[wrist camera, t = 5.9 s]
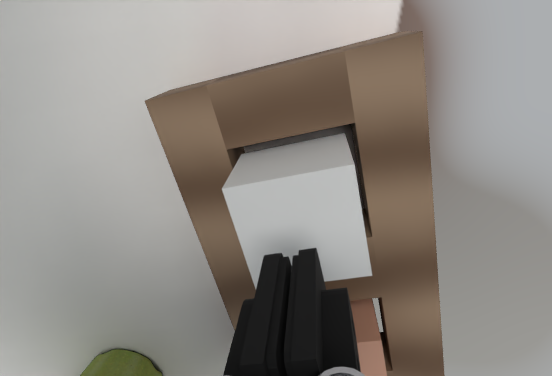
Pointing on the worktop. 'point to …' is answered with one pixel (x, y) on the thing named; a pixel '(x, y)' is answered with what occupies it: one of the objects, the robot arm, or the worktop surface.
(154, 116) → the brown rectangular frame
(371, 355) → the terracotta key
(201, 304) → the worktop surface
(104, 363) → the plant pot
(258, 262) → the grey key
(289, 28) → the worktop surface
